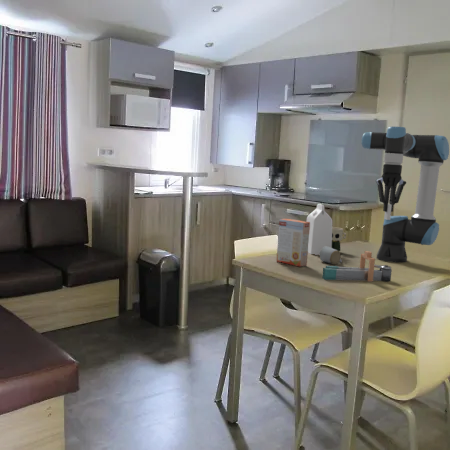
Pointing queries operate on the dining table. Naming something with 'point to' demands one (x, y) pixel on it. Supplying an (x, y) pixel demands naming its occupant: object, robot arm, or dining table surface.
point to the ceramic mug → (330, 255)
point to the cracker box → (293, 242)
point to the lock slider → (367, 256)
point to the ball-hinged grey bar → (355, 274)
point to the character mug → (337, 237)
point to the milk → (319, 230)
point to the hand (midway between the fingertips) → (387, 219)
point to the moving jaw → (361, 268)
